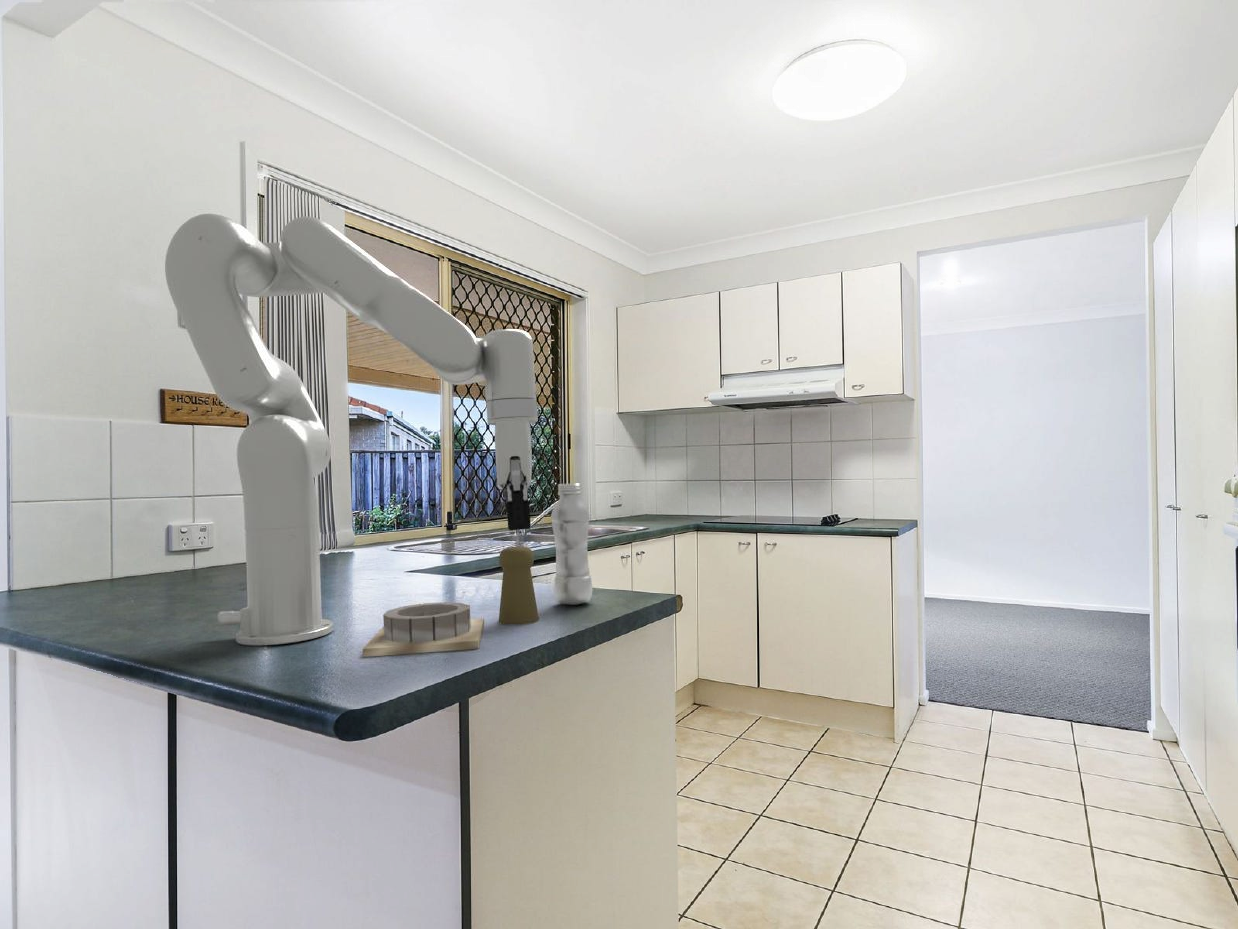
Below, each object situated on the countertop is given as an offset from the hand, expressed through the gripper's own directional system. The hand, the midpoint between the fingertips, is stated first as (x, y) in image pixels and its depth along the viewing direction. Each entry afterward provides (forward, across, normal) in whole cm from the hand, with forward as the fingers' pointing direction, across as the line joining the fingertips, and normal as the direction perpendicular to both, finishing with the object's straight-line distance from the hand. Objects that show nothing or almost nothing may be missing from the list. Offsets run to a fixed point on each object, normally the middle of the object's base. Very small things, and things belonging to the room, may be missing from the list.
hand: (519, 527), depth 105 cm
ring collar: (+14, +9, -13) cm, 21 cm away
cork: (+14, 0, -1) cm, 14 cm away
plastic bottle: (+14, -10, +8) cm, 19 cm away
